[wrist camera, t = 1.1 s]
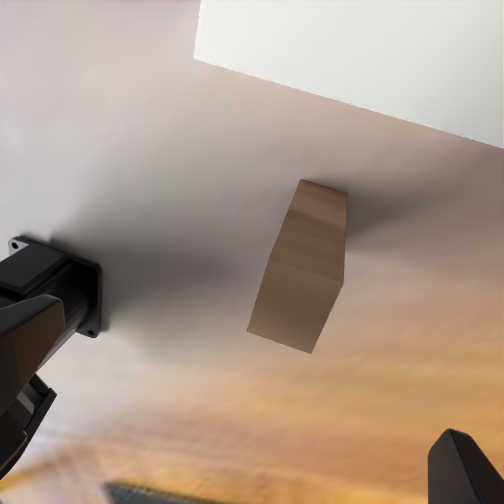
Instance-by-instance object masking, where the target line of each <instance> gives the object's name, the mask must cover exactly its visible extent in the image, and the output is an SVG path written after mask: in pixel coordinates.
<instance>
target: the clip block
mask: <svg viewBox="0 0 504 504" xmlns="http://www.w3.org/2000/svg"><path fill="white" fill-rule="evenodd" d="M193 59H196V60H199V61H203V62H206V63H210V64H213V65H216V66H220V67H223V68H227V69H230V70H234V71H237V72H241V73H244V74H247V75H251V76H254V77H258V78H261V79H265V80H268V81H272V82H275V83H278V84H282V85H285V86H289V87H292V88H296V89H299V90H303V91H306V92H310V93H313V94H316V95H320V96H323V97H327V98H330V99H334V100H337V101H341V102H344V103H347V104H351V105H354V106H358V107H361V108H365V109H368V110H372V111H375V112H378V113H382V114H385V115H389V116H392V117H396V118H399V119H403V120H406V121H409V122H413V123H416V124H420V125H423V126H427V127H430V128H434V129H437V130H440V131H444V132H447V133H451V134H454V135H458V136H461V137H465V138H468V139H471V140H475V141H478V142H482V143H485V144H489V145H492V146H496V147H499V148H502V149H504V0H201V3H200V11H199V19H198V26H197V34H196V41H195V49H194V57H193Z"/></svg>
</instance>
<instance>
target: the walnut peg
mask: <svg viewBox="0 0 504 504" xmlns="http://www.w3.org/2000/svg"><path fill="white" fill-rule="evenodd" d="M346 211H347V194H345V193H342V192H338V191H335V190H332V189H329V188H326V187H322V186H319V185H316V184H313V183H310V182H306V181H303V180H300V182H299V185H298V187H297V190H296V192H295V195H294V197H293V200H292V202H291V205H290V207H289V210H288V212H287V215H286V217H285V220H284V223H283V225H282V228H281V230H280V233H279V235H278V238H277V240H276V243H275V245H274V248H273V250H272V253H271V255H270V258H269V261H268V264H267V267H266V271H265V274H264V277H263V280H262V284H261V287H260V290H259V293H258V297H257V300H256V303H255V306H254V309H253V313H252V316H251V319H250V322H249V326H248V329H247V332H250V333H253V334H255V335H258V336H261V337H264V338H267V339H270V340H272V341H275V342H278V343H281V344H284V345H287V346H289V347H292V348H295V349H298V350H301V351H304V352H306V353H309V354H311V353H312V351H313V349H314V346H315V344H316V342H317V340H318V338H319V336H320V333H321V331H322V329H323V327H324V325H325V323H326V320H327V318H328V316H329V314H330V312H331V309H332V307H333V305H334V303H335V301H336V299H337V296H338V294H339V292H340V290H341V288H342V286H343V281H344V257H345V234H346Z"/></svg>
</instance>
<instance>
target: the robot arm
mask: <svg viewBox="0 0 504 504" xmlns="http://www.w3.org/2000/svg"><path fill="white" fill-rule="evenodd" d="M8 245H9V252H10V256H9V257H8V258H6V259H4V260H3V261H1V262H0V480H1V479H2V478H3V477H4V476H5V475H6V474H7V473H8V472H9V471H10V470H11V469H12V467H13V466H14V465H15V464H16V462H17V461H18V460H19V458H20V457H21V455H22V454H23V452H24V451H25V449H26V447H27V446H28V444H29V442H30V441H31V439H32V437H33V435H34V434H35V432H36V430H37V429H38V427H39V425H40V423H41V422H42V420H43V418H44V417H45V415H46V413H47V411H48V410H49V408H50V406H51V405H52V403H53V401H54V400H55V398H56V396H57V394H56V393H55V391H54V390H53V389H52V388H49V387H48V386H47V385H46V384H45V383H44V382H43V381H42V380H41V378H40V377H39V376H38V375H37V374H36V372H37V371H38V370H39V369H40V368H41V367H42V366H43V365H44V364H45V363H46V362H47V361H48V360H49V359H50V357H51V356H52V355H53V354H54V353H55V352H56V351H57V350H58V349H59V348H60V347H61V346H62V345H63V344H64V343H65V342H66V341H67V340H68V339H69V338H70V337H71V336H72V335H73V334H74V333H75V332H77V333H80V334H83V335H85V336H88V337H91V338H96V337H97V336H98V335H99V334H100V327H101V268H100V267H99V266H98V265H97V264H95V263H93V262H90V261H87V260H84V259H81V258H78V257H75V256H73V255H70V254H67V253H64V252H61V251H58V250H55V249H52V248H50V247H47V246H44V245H41V244H38V243H35V242H32V241H30V240H27V239H24V238H21V237H17V236H16V237H14V238H12V239H10V240H9V241H8ZM92 270H93V271H94V272H93V271H92ZM428 504H504V480H503V478H502V477H501V476H500V474H499V473H498V472H497V470H496V469H495V468H494V466H493V465H492V464H491V462H490V461H489V460H488V458H487V457H486V456H485V454H484V453H483V452H482V450H481V449H480V448H479V446H478V445H477V444H476V442H475V441H474V440H473V439H472V437H471V436H470V435H468V434H466V433H464V432H461V431H458V430H455V429H451V428H449V429H446V430H445V431H444V432H443V434H442V435H441V436H440V437H439V438H438V440H437V441H436V442H435V443H434V445H433V446H432V447H431V449H430V451H429V454H428Z"/></svg>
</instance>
